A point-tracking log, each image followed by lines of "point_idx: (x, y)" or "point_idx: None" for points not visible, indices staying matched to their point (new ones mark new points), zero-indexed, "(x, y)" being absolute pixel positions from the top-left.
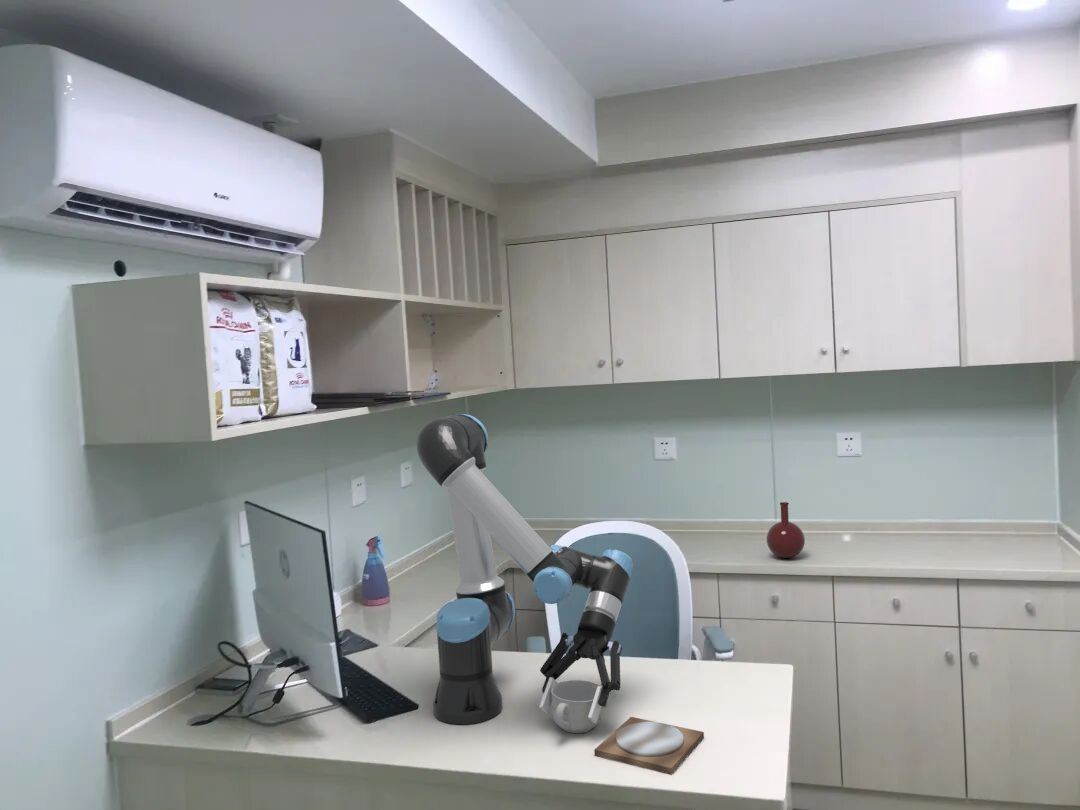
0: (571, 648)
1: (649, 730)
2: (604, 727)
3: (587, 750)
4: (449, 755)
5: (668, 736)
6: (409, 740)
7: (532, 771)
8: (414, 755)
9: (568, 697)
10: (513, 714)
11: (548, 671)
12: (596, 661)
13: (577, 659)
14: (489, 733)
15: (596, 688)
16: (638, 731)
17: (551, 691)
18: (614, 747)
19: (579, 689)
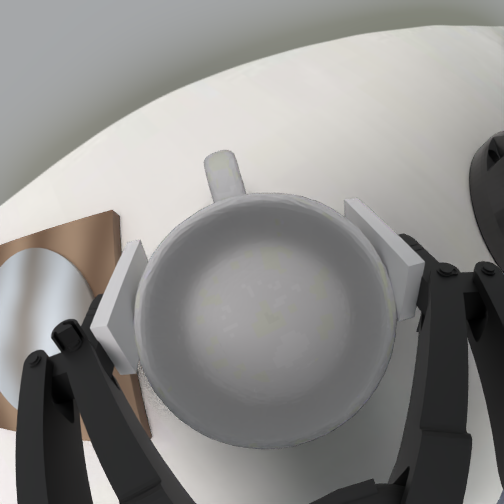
0: (459, 460)
1: None
2: None
3: (148, 225)
4: (380, 59)
5: (5, 358)
6: (464, 75)
7: (201, 90)
8: (414, 45)
9: (351, 363)
10: (462, 260)
11: (458, 277)
12: (144, 463)
13: (392, 474)
14: (416, 149)
15: (229, 429)
16: (56, 346)
17: (348, 221)
18: (77, 251)
19: (326, 408)
